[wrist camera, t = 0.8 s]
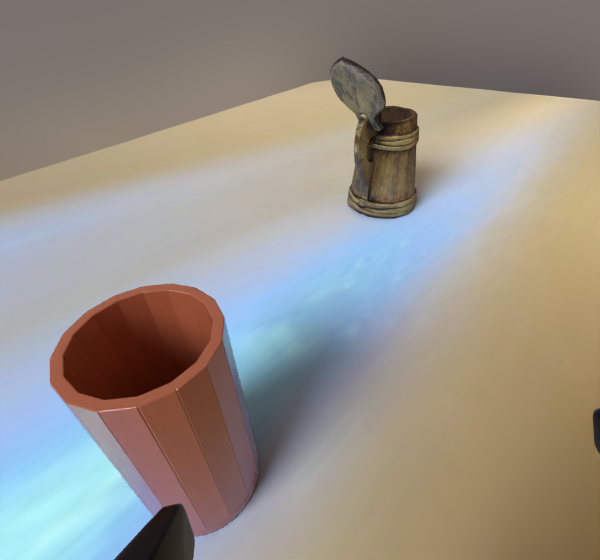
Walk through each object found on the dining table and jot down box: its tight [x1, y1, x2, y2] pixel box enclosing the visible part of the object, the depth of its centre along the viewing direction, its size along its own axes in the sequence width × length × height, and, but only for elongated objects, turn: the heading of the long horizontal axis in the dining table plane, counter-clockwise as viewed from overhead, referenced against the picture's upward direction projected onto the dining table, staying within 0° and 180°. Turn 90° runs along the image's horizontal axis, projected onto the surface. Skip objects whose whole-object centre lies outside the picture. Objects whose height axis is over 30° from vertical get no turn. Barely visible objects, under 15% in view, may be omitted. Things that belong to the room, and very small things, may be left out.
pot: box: [50, 284, 259, 536], centre depth 19 cm, size 7×7×12 cm
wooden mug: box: [330, 57, 419, 218], centre depth 43 cm, size 9×14×18 cm, turn 136°
